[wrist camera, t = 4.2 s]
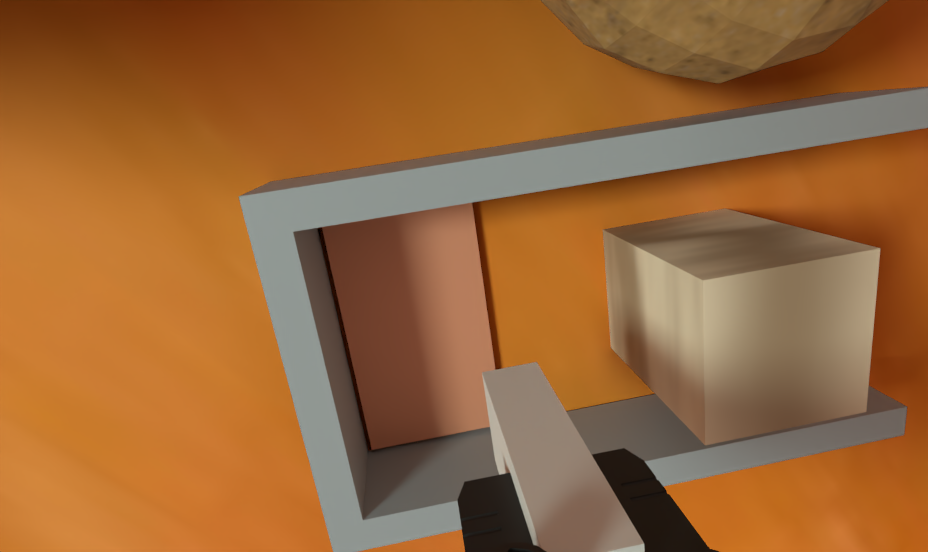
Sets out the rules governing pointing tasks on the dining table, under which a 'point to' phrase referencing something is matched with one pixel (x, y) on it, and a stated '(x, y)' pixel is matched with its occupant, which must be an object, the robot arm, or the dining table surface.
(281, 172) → the dining table surface
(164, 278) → the dining table surface
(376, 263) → the u-shaped frame
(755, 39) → the potato
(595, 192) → the dining table surface
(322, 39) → the dining table surface
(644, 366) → the block
